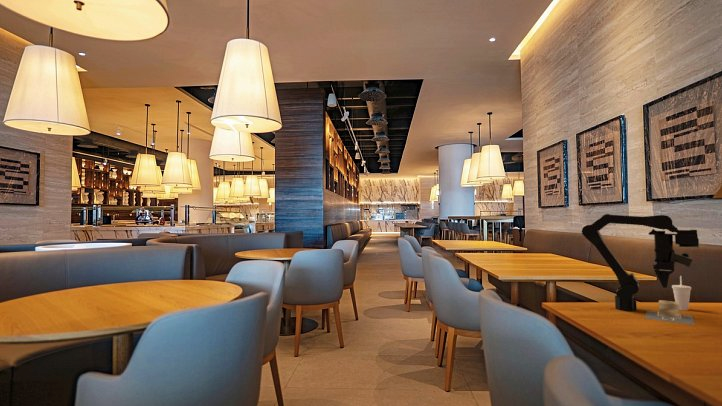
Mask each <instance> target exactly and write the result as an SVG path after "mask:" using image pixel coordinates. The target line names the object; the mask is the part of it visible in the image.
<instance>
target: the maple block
mask: <svg viewBox="0 0 722 406" xmlns="http://www.w3.org/2000/svg"><path fill="white" fill-rule="evenodd" d="M658 312H659V316H666V317H674V318H680V317H679V315H680V310H679V302H675V301H672V300H664V299H663V300H661V299H659V300H658Z"/></svg>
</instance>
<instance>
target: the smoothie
mask: <svg viewBox="0 0 722 406" xmlns="http://www.w3.org/2000/svg"><path fill="white" fill-rule="evenodd" d="M682 277H683V276H682V275H680V276H679V284H672V285H671V288H672V291H673V296H674V302H679V311H680V310H681V311H689V307H690V298H691V297H690V296H691V291H692V286H690V285H689V286H688V285H683V279H682Z"/></svg>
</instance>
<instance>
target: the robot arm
mask: <svg viewBox="0 0 722 406" xmlns="http://www.w3.org/2000/svg"><path fill="white" fill-rule="evenodd" d="M609 224H617V225H618V224H619V225H620V224H621V225H632V226H643V227H649V228H652V230H650V231H649V232H648V235H649V236H653V238H654V239H653V240H654V263H653V264H652V265H653V266H652V267H653V271H654V273H655V274H656V276H657V279H658V280H659V282H660V285H661V286H662V288H665V289H667V288H668V283H669V279H670V278H669V277H670V276H671V274H673V273H674V272H675V270H676V269H675V266H676V263H677V264H680V265H684V266H686V267H687V268H688V267H689V268H690V267H691V265H692V263H693V261H694V259H693V258H692V257H689V253H686V252H683V253H681V254H680V253H676V252H675V249H674V245H678V247H679V248H699V245H700V242H699V241H700V239H699V238H698V237H699V236H698V230H697V229H678V227H676V226H675V225H674V224H673V220H672V218H671V217H670V216H668V215H664V214H659V215H646V216H645V215H644V216H637V215H636V216H635V215H618V214H609V213H605V214H603V215H602V216H601V217H599V219H597V220H596V221H594V222H593V223H591V224H587V225H585V226H583V227H582V228H581V235H583V237H584V238H585V239H587V241H588V242H590V243H591V244H592V245H593V246H594V247H595V248H596V250H597V251H598V252H599V253H600V255H601V256H602V258H603V259H604V261H605V262H606V263H607V265H608V266H609V267H610V269H611V270H612V272H613V273H614V274H615V276H616V278H617V281H618V284H619V287H618V288H617V289H616V291H615V295H614V301H615V302H614V304H615V305H614V306H615V309H616V310H618V311H624V312H635V311H637V309H638V307H637V300H636V297H635V296H634V295H636V294H637V293H638V292H639V290H640V284H639V283H640V280H639V279H637V277H636V276H635V275H634V273H633V272H631V273H629V272H627V271H626V270H625V268H624V267H623V266H622V264H621V263H620V262H619V260H618V258H616V256H615V255H614V253H613V252H612V251H611V250H610V248H609V246H608V245H607V244H606V242H605V240H604V239H603V237H602V233H601V230H603V228H605V227H606V226H608V225H609ZM656 229H659V230H656ZM666 230H667V231H669V232H670V233H666ZM673 236H674V237H673Z"/></svg>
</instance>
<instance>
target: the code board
mask: <svg viewBox="0 0 722 406" xmlns="http://www.w3.org/2000/svg"><path fill="white" fill-rule="evenodd" d="M679 317H680V318H674V317H666V316H659V311H654V310H646V314H645V317H644V318H645V319H647V320H654V321H661V322H671V323H677V324H684V325H690V326H691V325H693V326H695V321H694V316H693V315H687V314H685V315H684V314H679Z"/></svg>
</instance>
